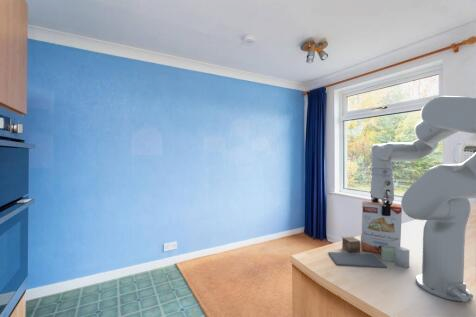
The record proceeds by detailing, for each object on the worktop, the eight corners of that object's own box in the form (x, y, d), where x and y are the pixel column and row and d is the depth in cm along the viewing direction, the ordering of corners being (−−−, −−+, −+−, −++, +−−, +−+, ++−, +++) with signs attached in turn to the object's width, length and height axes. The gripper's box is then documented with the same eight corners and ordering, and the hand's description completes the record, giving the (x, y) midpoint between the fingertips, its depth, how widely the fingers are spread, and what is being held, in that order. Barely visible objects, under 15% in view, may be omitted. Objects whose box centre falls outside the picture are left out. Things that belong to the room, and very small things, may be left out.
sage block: (394, 262, 86) (394, 251, 86) (382, 259, 88) (382, 249, 88) (392, 257, 90) (392, 248, 90) (381, 255, 92) (381, 246, 92)
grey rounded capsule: (412, 268, 82) (412, 252, 82) (399, 267, 82) (399, 251, 82) (404, 262, 86) (404, 247, 86) (392, 261, 86) (392, 246, 86)
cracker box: (361, 250, 96) (362, 203, 96) (361, 245, 101) (362, 200, 101) (400, 257, 90) (402, 207, 89) (398, 252, 95) (399, 204, 95)
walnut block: (360, 252, 95) (360, 241, 95) (349, 253, 94) (349, 241, 94) (352, 247, 100) (352, 236, 100) (342, 248, 99) (342, 237, 99)
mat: (386, 267, 82) (386, 266, 82) (336, 265, 83) (336, 263, 83) (373, 255, 92) (373, 254, 92) (328, 253, 93) (328, 251, 93)
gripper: (403, 174, 86) (402, 219, 86) (379, 171, 103) (378, 208, 104) (383, 174, 87) (382, 218, 87) (362, 170, 104) (362, 207, 104)
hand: (380, 212), depth 95 cm, fingers closed on cracker box, 7 cm apart
